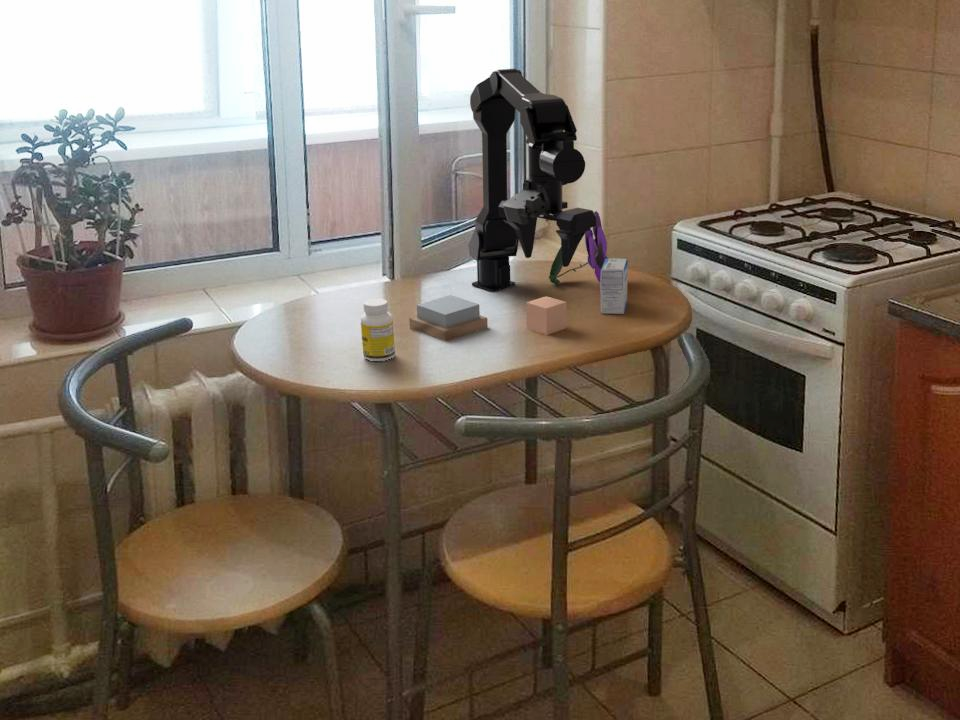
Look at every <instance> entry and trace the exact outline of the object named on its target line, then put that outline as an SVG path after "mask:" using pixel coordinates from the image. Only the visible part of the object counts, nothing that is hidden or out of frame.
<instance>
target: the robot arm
mask: <svg viewBox="0 0 960 720" xmlns="http://www.w3.org/2000/svg"><path fill="white" fill-rule="evenodd" d="M469 102H470V103H469V106H470V110H471V112H472V119H473V120H474V122H475V124H476V125H477V127H478V129H479V131H480V132H481V142H482V143H481V144H482V145H481V146H482V194H483V195H482V197H483V199H482V201H483V207H482V208H481V210H480V212H479V213H478V215H477V217H476V219H475V222H474V223H475V224H474V225H475V226H474V230H473V233H472V235H471V237H470V240H469V243H468V254H469V256H470V257H471V258H472V259H474V260H475V261H476V269H477V274H476V275H477V276H476V277H477V279H476V280H477V281H473V282H471V286H473V287H477V288H480V289H484V290H487V291H489V292H495V291H496V292H497V291H499V290H502V289H505V288H509V287H512V286H516V282H515V281H513V280H511V265H510V257H517V254H518V249H519V248H518V247H519V244H520V247H521V249H522V252H523V254H524V257H525V258H526V259H531V257H532V254H533V249H534V244H535V243H534V242H535V236H536V229H537V220H538V219H544V220H548V221H554V222H556V226H557V228H558V230H557V229H556V230H555V233H556V234H557V236H559V238H560V244H561V245H560V248H561V251H562V264H563V267H564V268H566V267H568V266H570V263H571V261H572V259H573V257H574V255H575V253H576V251H577V249H578V246H579V245H580V243H581V241H582V239H583V238H584V237H585V232H586V231H589V230H590V229H591V230H592V228H593V227H595V226H596V214H595V213H594V212H595V211H594V210H592V209H589V208H588V209H587V208H582V207H575V208H571V209H568V205H569V204H568V202H567V201H564V200H563V186H566V185H568V184H573V183H575V182H577V181H578V180H580V178H582V176H583V175H584V172H585V169H586V160H585V158H584V156H583V154H582V153H581V152H580V150H578V149H576V148H575V141H577V139H578V137H577V134H576V133H577V131H578V130H577V126H576V124H575V122H574V120H573V116H572V113H571V112H570V109H569V107H568V105H567V104H566V101H565V100H564V99H563V97H560V96H557V95H556V94H549V93H543V92H541V91H540V90H538V88H536V87H535V86H534V85H533V84H532V83H531V82H530V81H529V80H527V78H525V77H524V76H523V74H522V71H521V70H520V69H517V68H506V69H505V68H504V69H496V70H495V71H492V72H491V74H490V76H489V77H486V79H484V80H483V81H481V82H479V83H477V84H476V85H475V87H474V88H473V91H472V92H471V94H470V97H469ZM516 111H517V112H518V113H519V114H520V116H519V118H520V119H519V121H520V122H519V123H520V125H521V126H522V129H523V131H524V133H525V135H526V139H525V144H526V145H528V148H527V149H528V150H527V151H528V178H527V179H524V180H523V183H522V190H521V191H520V192H517V193H515V194H514V195H513V196H511V197H510V198H508V149H507V148H508V144H507V143H508V141H507V140H508V139H507V138H508V133H509V131H510V129H511V127H512V125H513V124H514V123H515V120H516ZM564 209H565V210H564ZM566 209H567V210H566ZM563 267H562V268H563Z"/></svg>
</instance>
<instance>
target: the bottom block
mask: <svg viewBox="0 0 960 720" xmlns="http://www.w3.org/2000/svg"><path fill="white" fill-rule="evenodd" d="M488 323H489V322H488V317H486V316H483V315H481V314H480V318H477V319H473V320H470V321H467V322H464V323H461V324H457V325H454V326H451V327H448V328H444V327H441V326H438V325H436V324H433V323H430V322H427V321H425V320H422V319H419V318H417V315H415V316H412V317H410V318H409V329H411V328H412V329H411V330H414V329H415V330H414V331H417V332H419V331H421V332H420V333H422V332H423V333H422V334H425V333H426V334H425V335H427V334H428V336H430V335H431V337H432V338H437V339H439V340H441V341H444V342H447V341H451V340H453V339H457V338H459V337H462V336H466V335H469V334H472V333H475V332H478V331H481V330H484V329H488V326H489V325H488Z"/></svg>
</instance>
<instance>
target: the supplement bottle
mask: <svg viewBox="0 0 960 720" xmlns="http://www.w3.org/2000/svg"><path fill="white" fill-rule="evenodd" d="M388 305H389V304H388V301H387V300H386V299H384V298H370V299H366V300H365V301H364V302H363V311H364V313H363V314H362V316H361V317H360V329H361V331H360V333H361V341H362V353H363V358H364V359H365V360H366V359H368V360H372V361H382V360H387V361H389V360H388V359H390V360H392V359H394V358H395V356H396V347H395V345H396V344H395V333H394V332H395V330H394V318H393V314H392V313H390V312H389V311H388V310H389V306H388ZM391 358H392V359H391ZM368 360H367V361H368ZM382 362H383V361H382Z"/></svg>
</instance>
